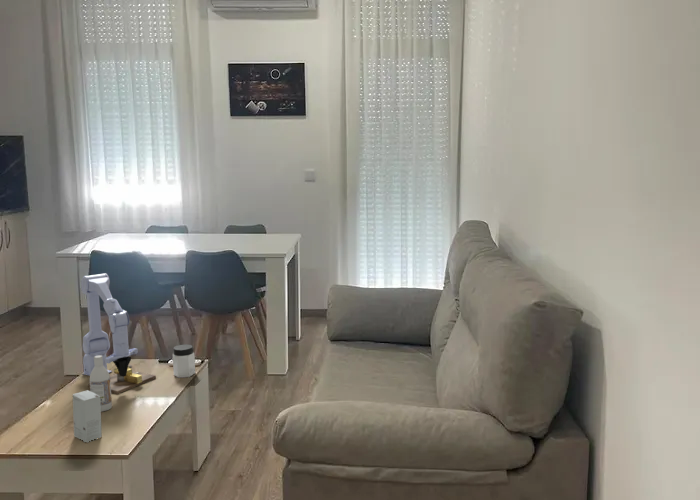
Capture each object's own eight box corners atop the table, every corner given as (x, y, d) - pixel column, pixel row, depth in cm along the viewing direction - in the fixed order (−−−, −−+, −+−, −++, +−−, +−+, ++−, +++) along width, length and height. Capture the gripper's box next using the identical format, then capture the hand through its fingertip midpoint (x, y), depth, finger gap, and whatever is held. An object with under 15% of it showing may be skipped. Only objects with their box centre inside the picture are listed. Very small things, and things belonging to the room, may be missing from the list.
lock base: (88, 386, 265) (87, 376, 264) (127, 372, 282) (126, 362, 281) (117, 394, 257) (117, 383, 256) (155, 378, 274) (155, 368, 273)
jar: (198, 375, 277) (196, 347, 275) (180, 379, 272) (178, 351, 270) (188, 369, 284) (187, 342, 282) (171, 374, 279) (169, 346, 277)
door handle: (111, 380, 268) (110, 369, 267) (122, 375, 273) (122, 365, 272) (134, 385, 262) (133, 374, 261) (145, 380, 267) (144, 369, 266)
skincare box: (73, 436, 219) (70, 394, 216) (90, 430, 223) (87, 389, 221) (86, 443, 213) (83, 400, 211) (103, 437, 218) (100, 394, 215)
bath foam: (113, 410, 241) (109, 357, 238) (92, 413, 238) (88, 360, 235) (111, 403, 247) (107, 352, 244) (91, 407, 244) (87, 355, 241)
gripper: (112, 348, 249) (115, 383, 251) (142, 338, 262) (144, 371, 264) (100, 346, 253) (102, 380, 255) (129, 336, 265) (131, 369, 267)
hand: (123, 375), depth 260 cm, fingers closed
